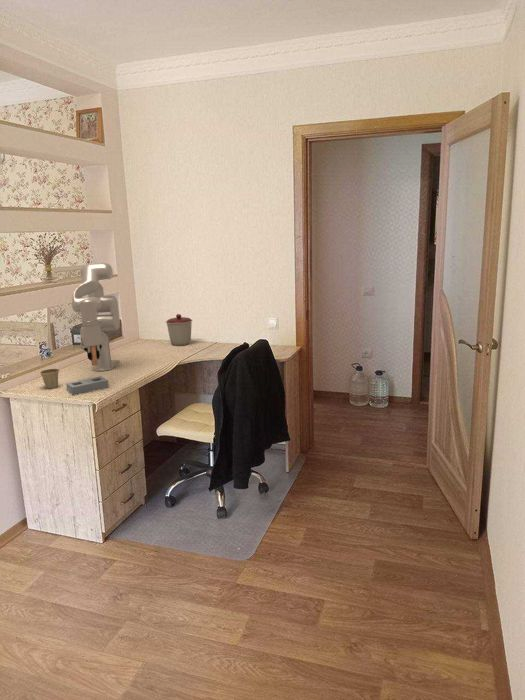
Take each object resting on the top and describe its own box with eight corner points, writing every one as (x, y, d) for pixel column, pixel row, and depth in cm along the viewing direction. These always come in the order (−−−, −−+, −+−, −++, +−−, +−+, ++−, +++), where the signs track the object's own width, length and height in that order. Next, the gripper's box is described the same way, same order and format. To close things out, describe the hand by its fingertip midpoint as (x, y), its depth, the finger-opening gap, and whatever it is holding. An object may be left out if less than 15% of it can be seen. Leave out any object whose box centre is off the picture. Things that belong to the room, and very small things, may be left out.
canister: (199, 342, 369) (197, 312, 364) (182, 348, 354) (180, 317, 349) (179, 340, 378) (177, 311, 374) (162, 345, 364) (159, 315, 359)
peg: (96, 363, 274) (94, 343, 271) (98, 364, 271) (96, 343, 269) (90, 365, 272) (88, 344, 269) (92, 366, 269) (90, 344, 267)
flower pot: (38, 388, 277) (36, 372, 275) (54, 383, 285) (51, 367, 283) (49, 390, 272) (47, 374, 270) (65, 385, 280) (62, 369, 278)
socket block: (101, 383, 281) (100, 376, 280) (108, 387, 273) (107, 380, 272) (67, 390, 271) (66, 383, 270) (73, 395, 263) (72, 387, 262)
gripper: (103, 320, 275) (106, 355, 279) (71, 325, 265) (75, 360, 269) (108, 322, 269) (112, 357, 273) (76, 326, 259) (80, 363, 263)
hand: (94, 358), depth 271 cm, fingers closed on peg, 3 cm apart
